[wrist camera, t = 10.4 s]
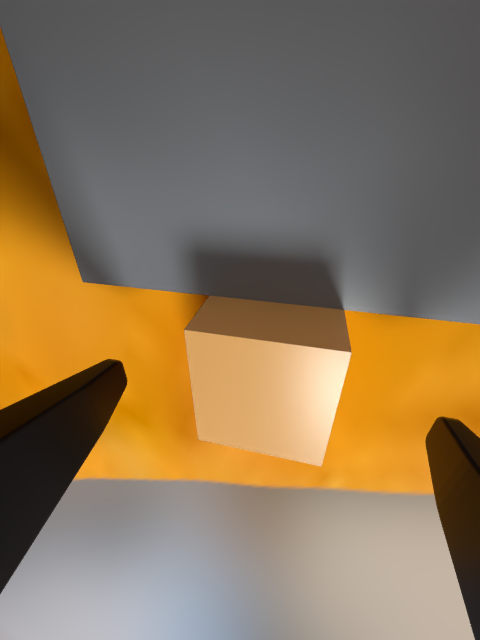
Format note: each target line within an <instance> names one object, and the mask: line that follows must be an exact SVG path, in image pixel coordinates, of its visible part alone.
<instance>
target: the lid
mask: <svg viewBox="0 0 480 640" xmlns="http://www.w3.org/2000/svg"><path fill="white" fill-rule="evenodd" d="M0 26H1V30H2V33H3V36H4V39H5V42H6V45H7V48H8V51H9V54H10V57H11V61H12V64H13V67H14V70H15V73H16V76H17V79H18V82H19V85H20V88H21V92H22V95H23V98H24V101H25V104H26V107H27V110H28V113H29V116H30V119H31V123H32V126H33V129H34V132H35V135H36V138H37V141H38V144H39V147H40V150H41V154H42V157H43V160H44V163H45V166H46V169H47V172H48V175H49V178H50V181H51V184H52V188H53V191H54V194H55V197H56V200H57V203H58V206H59V209H60V212H61V215H62V219H63V222H64V225H65V228H66V231H67V234H68V237H69V240H70V243H71V246H72V250H73V253H74V256H75V259H76V262H77V265H78V268H79V271H80V274H81V277H82V281H83V282H87V283H96V284H106V285H115V286H125V287H134V288H143V289H153V290H162V291H172V292H181V293H190V294H200V295H209V297H208V298H207V300H206V301H205V302H204V304H203V305H202V307H201V308H200V309H199V311H198V312H197V313H196V315H195V316H194V317H193V319H192V320H191V321H190V323H189V324H188V325H187V327H186V328H185V329H184V333H185V341H186V349H187V357H188V364H189V372H190V380H191V388H192V396H193V403H194V411H195V419H196V427H197V434H198V440H202V441H207V442H211V443H216V444H220V445H225V446H230V447H234V448H239V449H243V450H248V451H253V452H257V453H262V454H266V455H271V456H276V457H280V458H285V459H289V460H294V461H299V462H303V463H308V464H312V465H317V466H322V462H323V458H324V455H325V451H326V447H327V443H328V440H329V436H330V432H331V428H332V424H333V421H334V417H335V413H336V409H337V406H338V402H339V398H340V394H341V390H342V387H343V383H344V379H345V375H346V372H347V368H348V364H349V360H350V356H351V353H352V352H351V347H350V341H349V335H348V330H347V324H346V318H345V313H344V310H350V311H360V312H369V313H379V314H388V315H397V316H407V317H416V318H426V319H435V320H445V321H454V322H463V323H473V324H480V0H0Z"/></svg>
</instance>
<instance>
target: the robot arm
mask: <svg viewBox="0 0 480 640" xmlns="http://www.w3.org/2000/svg"><path fill="white" fill-rule="evenodd" d="M126 385H127V377H126V374H125V370H124V367H123V364H122V362H121V361H119V360H113V359H107V360H104V361H102V362H100V363H98V364H96V365H94V366H92V367H90V368H88V369H86V370H83V371H81V372H79V373H77V374H75V375H73V376H71V377H69V378H67V379H64V380H62V381H60V382H58V383H56V384H54V385H52V386H50V387H48V388H45V389H43V390H41V391H39V392H37V393H35V394H33V395H31V396H29V397H26V398H24V399H22V400H20V401H18V402H16V403H14V404H12V405H10V406H8V407H5V408H3V409H1V410H0V594H1V592H2V591H3V589H4V588H5V586H6V584H7V583H8V581H9V580H10V578H11V576H12V575H13V573H14V572H15V570H16V569H17V567H18V565H19V564H20V562H21V561H22V559H23V558H24V556H25V554H26V553H27V551H28V550H29V548H30V547H31V545H32V543H33V542H34V540H35V539H36V537H37V535H38V534H39V532H40V531H41V529H42V527H43V526H44V524H45V523H46V521H47V520H48V518H49V517H50V515H51V513H52V512H53V510H54V509H55V507H56V505H57V504H58V502H59V501H60V499H61V497H62V496H63V494H64V493H65V491H66V490H67V488H68V487H69V485H70V483H71V482H72V480H73V479H74V477H75V475H76V474H77V472H78V471H79V469H80V468H81V466H82V464H83V463H84V461H85V460H86V458H87V457H88V455H89V453H90V452H91V450H92V449H93V447H94V445H95V444H96V442H97V441H98V439H99V438H100V436H101V434H102V433H103V431H104V429H105V427H106V425H107V424H108V422H109V420H110V418H111V416H112V414H113V412H114V410H115V408H116V406H117V404H118V402H119V400H120V398H121V396H122V394H123V392H124V390H125V388H126ZM426 449H427V455H428V461H429V466H430V472H431V478H432V483H433V489H434V495H435V499H436V505H437V509H438V512H439V517H440V520H441V524H442V527H443V530H444V534H445V537H446V541H447V544H448V548H449V551H450V555H451V558H452V562H453V565H454V569H455V572H456V575H457V579H458V582H459V585H460V589H461V593H462V596H463V600H464V603H465V606H466V610H467V613H468V617H469V620H470V624H471V627H472V630H473V634H474V638H475V640H480V438H479V437H478V436H477V435H476V434H475V433H473V432H472V431H471V430H470V429H469V428H468V427H467V426H466V425H464V424H463V423H462V422H461V421H459V420H457V419H453V418H448V417H438V418H437V419H436V421H435V422H434V424H433V426H432V427H431V429H430V431H429V433H428V434H427V436H426Z"/></svg>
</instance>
